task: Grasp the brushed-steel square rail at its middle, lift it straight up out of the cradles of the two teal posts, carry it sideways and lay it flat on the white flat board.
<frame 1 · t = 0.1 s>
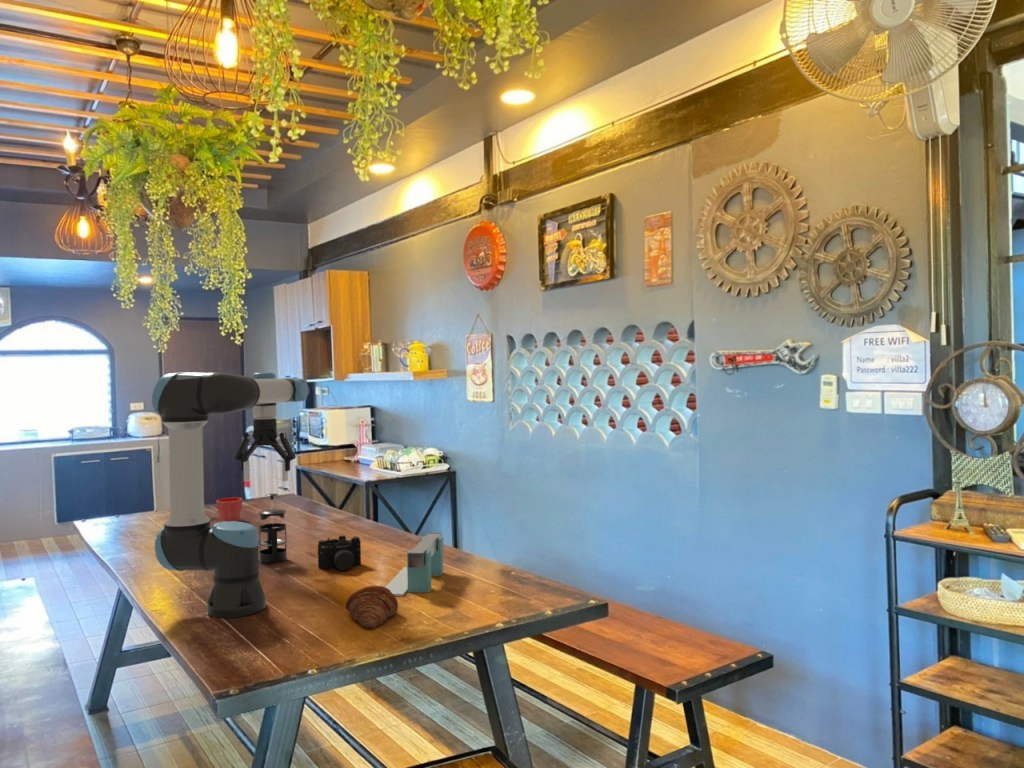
hand: (265, 480, 255), 28 cm above the table, fingers open, 13 cm apart
flower pot: (229, 521, 329), on the table
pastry: (373, 617, 198), on the table
post 1: (419, 590, 221), on the table
white flat board: (403, 581, 231), on the table
post 2: (432, 573, 239), on the table
rail: (425, 555, 230), point 8 cm above the table, touching post 1, post 2
french press: (272, 560, 259), on the table
camera: (340, 569, 247), on the table
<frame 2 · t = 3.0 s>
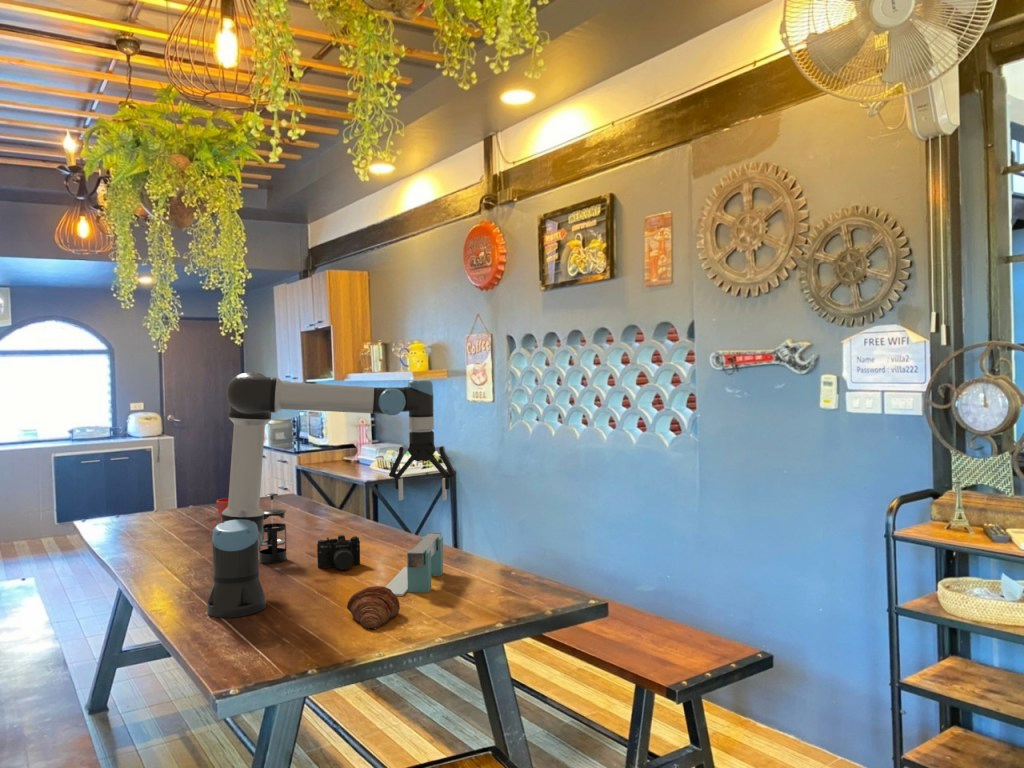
hand: (422, 500, 230), 25 cm above the table, fingers open, 13 cm apart
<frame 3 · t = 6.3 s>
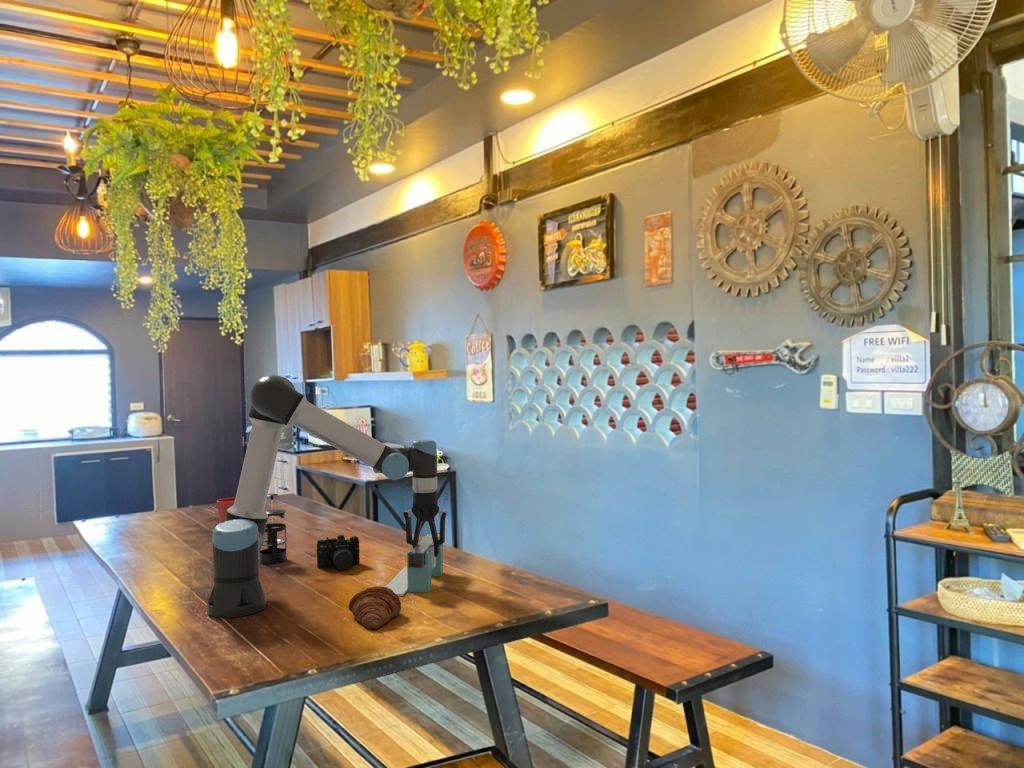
hand: (426, 566, 230), 5 cm above the table, fingers closed on rail, 4 cm apart
rail: (425, 555, 230), point 8 cm above the table, touching gripper, post 1, post 2
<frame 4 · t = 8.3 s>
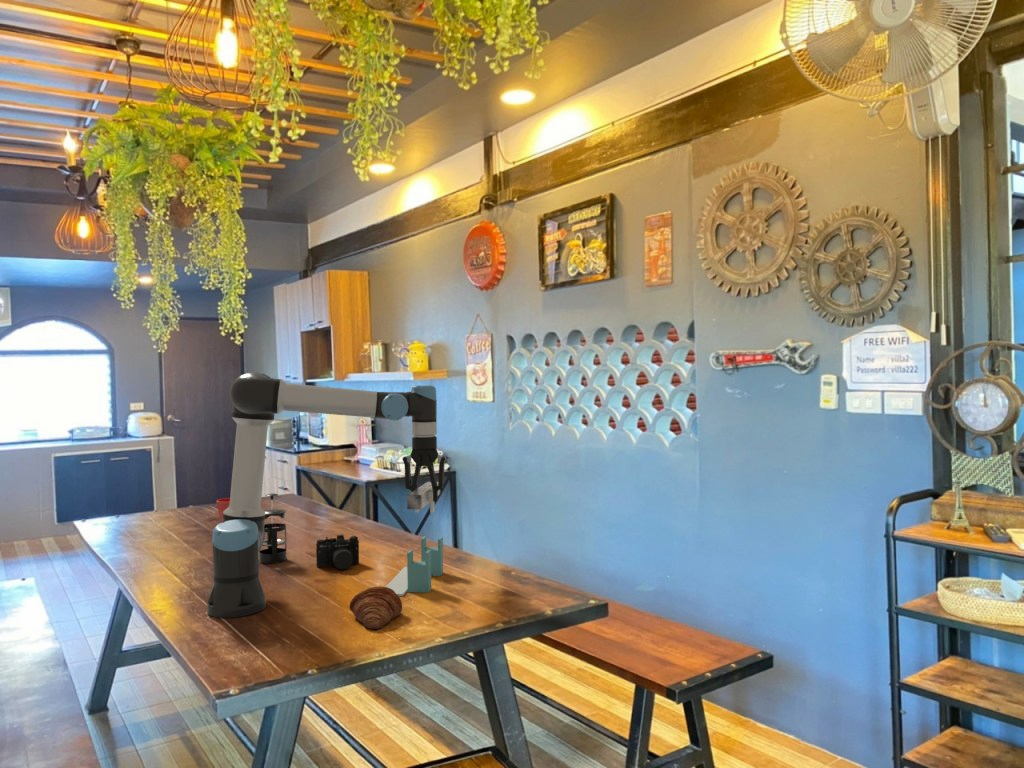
hand: (424, 512, 230), 21 cm above the table, fingers closed on rail, 4 cm apart
rail: (424, 501, 230), point 25 cm above the table, touching gripper
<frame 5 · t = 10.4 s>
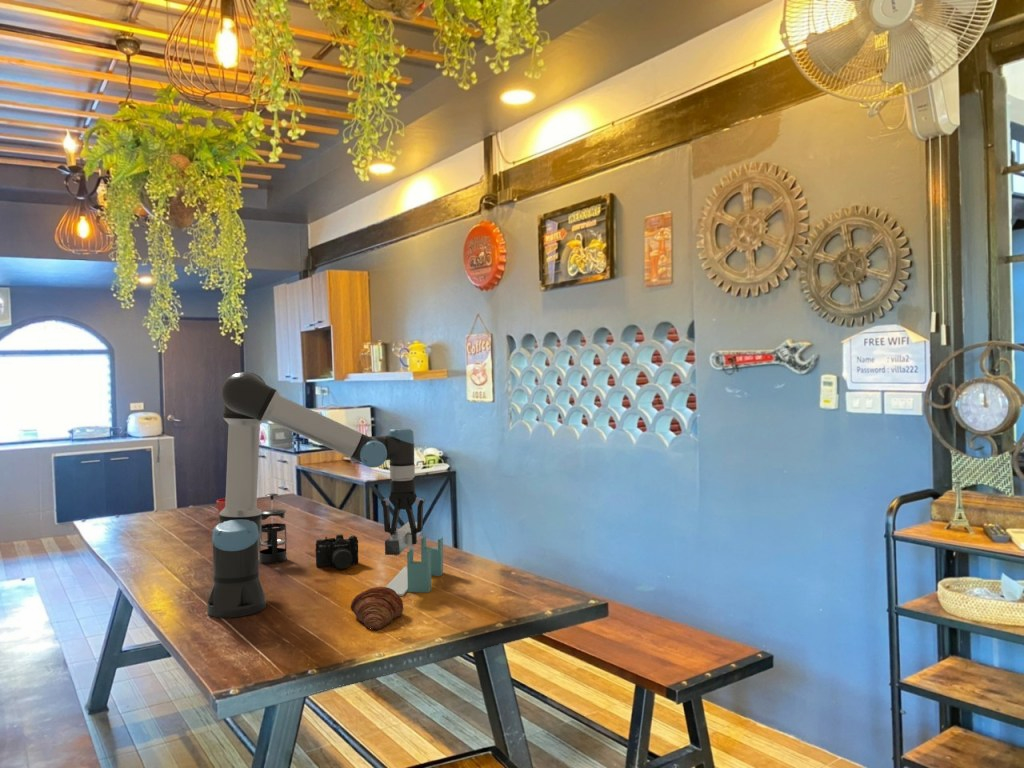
hand: (404, 554, 231), 8 cm above the table, fingers closed on rail, 4 cm apart
rail: (403, 543, 231), point 12 cm above the table, touching gripper
when the fingers open (1 cm above the table, at t = 12.2 s): rail drops 4 cm, resting on white flat board.
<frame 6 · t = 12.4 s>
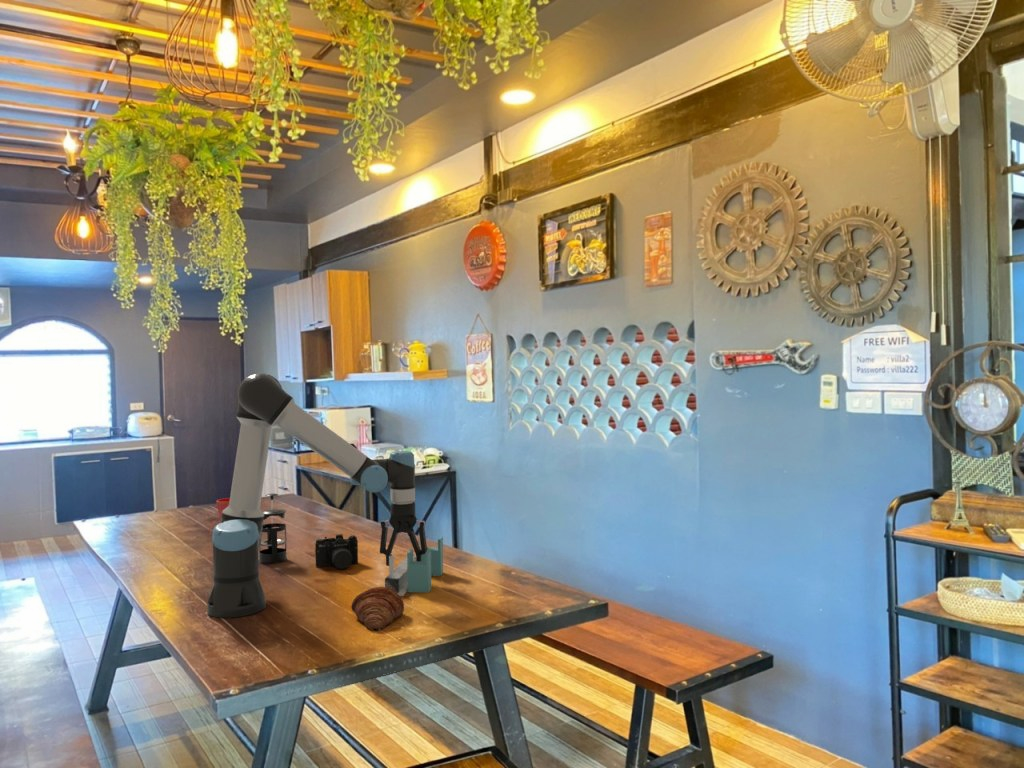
hand: (403, 576, 231), 2 cm above the table, fingers open, 7 cm apart
rail: (403, 579, 231), point 1 cm above the table, touching white flat board
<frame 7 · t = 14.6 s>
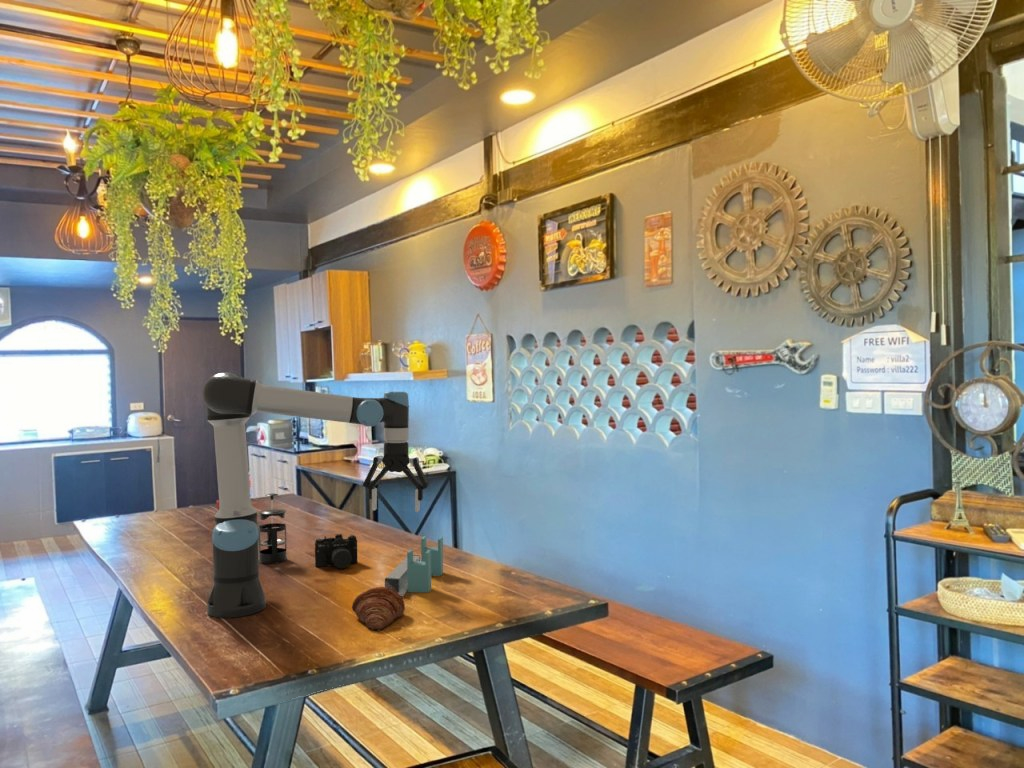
hand: (395, 510, 231), 22 cm above the table, fingers open, 13 cm apart
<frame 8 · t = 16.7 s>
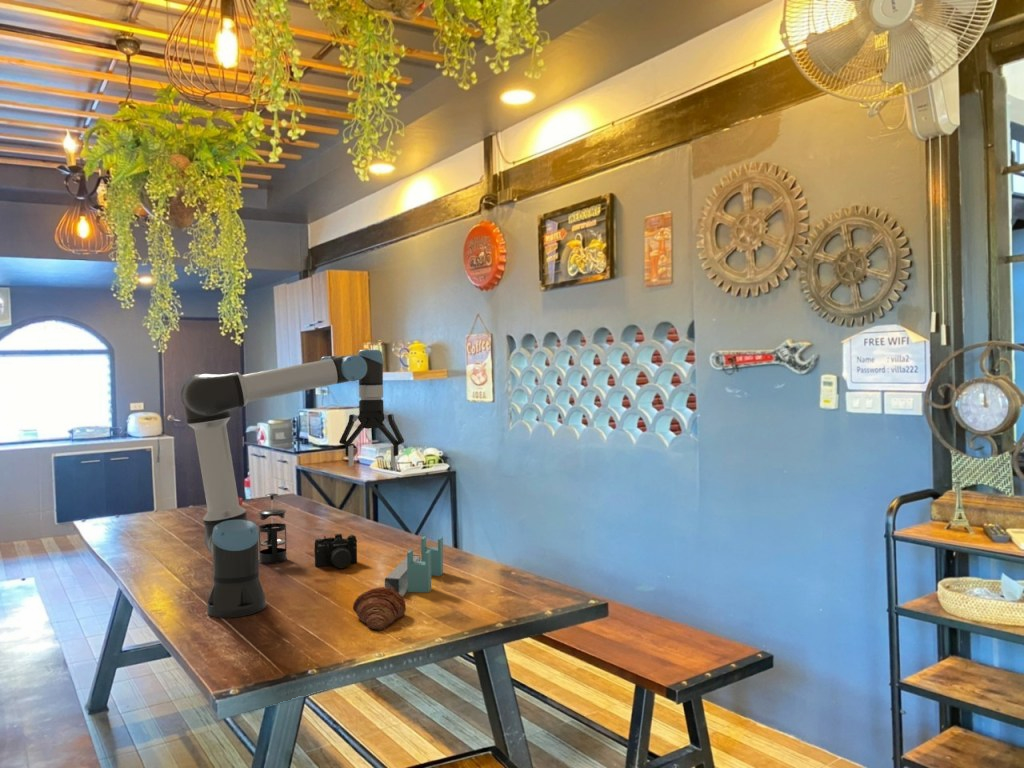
hand: (372, 466, 236), 35 cm above the table, fingers open, 13 cm apart
at the end: rail inside the target area on the white flat board (0.1 cm from its centre), point 0.6 cm above the white flat board's base; rail tilted 0°; the gripper is holding nothing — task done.
